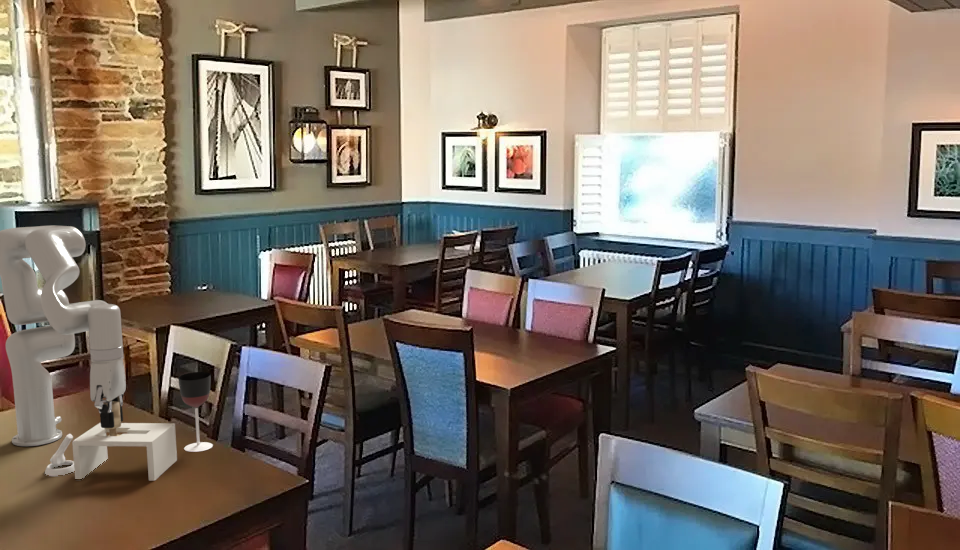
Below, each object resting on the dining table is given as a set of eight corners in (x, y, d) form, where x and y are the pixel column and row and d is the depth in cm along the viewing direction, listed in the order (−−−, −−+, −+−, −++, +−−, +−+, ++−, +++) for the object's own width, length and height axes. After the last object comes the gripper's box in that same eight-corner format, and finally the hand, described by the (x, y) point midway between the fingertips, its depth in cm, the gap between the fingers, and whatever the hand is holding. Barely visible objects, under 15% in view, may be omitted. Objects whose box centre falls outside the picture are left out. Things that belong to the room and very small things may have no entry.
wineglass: (220, 443, 234) (216, 373, 231) (200, 453, 226) (196, 381, 223) (196, 440, 237) (192, 371, 234) (176, 450, 229) (171, 379, 226)
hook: (86, 456, 210) (59, 443, 208) (63, 491, 213) (37, 478, 211) (96, 440, 217) (70, 427, 215) (74, 474, 220) (48, 462, 218)
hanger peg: (109, 440, 217) (106, 400, 215) (127, 440, 216) (124, 400, 215) (100, 446, 212) (96, 406, 210) (118, 446, 212) (115, 406, 210)
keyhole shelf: (75, 479, 209) (72, 441, 207) (102, 459, 222) (99, 422, 221) (154, 480, 208) (152, 441, 206) (177, 460, 222) (174, 423, 220)
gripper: (108, 346, 219) (113, 414, 222) (75, 362, 203) (81, 435, 205) (136, 346, 219) (141, 414, 222) (105, 362, 202) (111, 435, 205)
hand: (112, 423), depth 213 cm, fingers closed on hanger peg, 4 cm apart
